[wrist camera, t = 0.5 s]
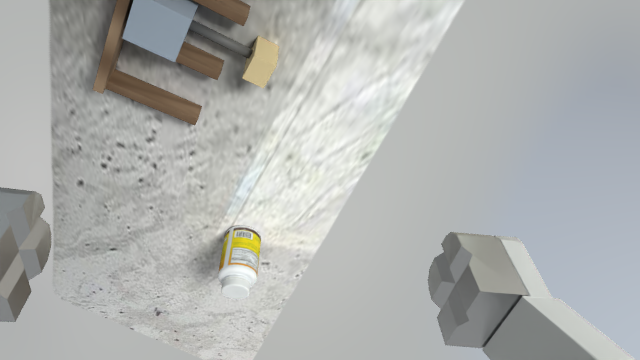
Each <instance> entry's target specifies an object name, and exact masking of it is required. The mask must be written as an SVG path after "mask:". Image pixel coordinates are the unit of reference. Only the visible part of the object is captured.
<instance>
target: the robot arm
mask: <svg viewBox="0 0 640 360" xmlns="http://www.w3.org/2000/svg"><path fill="white" fill-rule="evenodd" d="M44 208H45V206H44V203H43V199H42V196H41V194H39V193H37V192H34V191H26V190H16V189H9V188H0V321H4V322H5V321H6V322H15V321H16V319H17V318H18V316H19V314H20V312H21V310H22V308H23V306H24V305H25V303H26V301H27V299H28V297H29V295H30V293H31V288H30V285H29V282H28V280H30V279H32V278H33V277H35V276H36V275H38V274H39V273H41V272H42V270H43V268H44V266H45V264H46V262H47V260H48V256H49V252H50V248H51V231H50V227H49V224H48V223H46V221H44V220H43V219H42V218H41V217H40V215H41V213H42V212H43V210H44ZM442 247H443V250H444V253H442V254H440V255H439V256H437V257H435V258H434V260H433V262H432V265H431V267H430V269H429V277H428V285H429V291H430V295H431V299H432V301H433V302H434V303H435V304H436V305H437V306H438V307H440V308H441V311H440V313H439V315H438V317H437V319H438V322H439V326H440V329H441V332H442V335H443V339H444V342H445V345H450V346H462V347H475V348H483V351H484V353H485V354H486V355H487V356H488V357H489V359H490V360H635V359H634V358H633V357H632V356H631V355H629V354H628V353H627V352H626V351H624V350H623V349H622V348H620V347H619V346H618V345H617V344H615V343H614V342H613V341H612V340H611V339H609V338H608V337H607V336H605V335H604V334H603V333H602V332H600V331H599V330H598V329H597V328H595V327H594V326H593V325H592V324H590V323H589V322H588V321H587V320H585V319H584V318H583V317H582V316H580V315H579V314H578V313H577V312H575V311H574V310H573V309H572V308H570V307H569V306H568V305H567V304H565V303H564V302H563V301H562V300H560V299H556V298H552V296H551V294H550V292H549V291H548V289H547V287H546V285H545V283H544V281H543V280H542V278H541V276H540V274H539V272H538V271H537V269H536V267H535V265H534V263H533V261H532V260H531V258H530V256H529V255H528V252H527V251H526V249H525V247H524V245H523V243H522V242H521V241H520V240H519V239H518V238H516V237H504V236H490V235H479V234H467V233H456V232H450V233H449V234H448V235H447V236H446V237H445V239H444V241H443V242H442Z"/></svg>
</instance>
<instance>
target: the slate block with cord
mask: <svg viewBox="0 0 640 360" xmlns="http://www.w3.org/2000/svg"><path fill="white" fill-rule="evenodd" d="M198 5H199V3H197V2H195V1H193V0H133V4H132V7H131V10H130V14H129V17H128V21H127V24H126V27H125V31H124V34H123V37H122V39H124V40H127V41H129V42H131V43H133V44H135V45H137V46H140V47H142V48H144V49H146V50H148V51H151V52H153V53H155V54H157V55H159V56H162V57H164V58H166V59H168V60H170V61H172V62H175V61H176V58H177V56H178V54H179V51H180V49H181V47H182V44H183V42H184V40H185V37H186V35H187V32H188V30H191V31H193V32H195V33H197V34H199V35H201V36H203V37H205V38H207V39H209V40H212V41H214V42H216V43H218V44H220V45H222V46H224V47H226V48H228V49H230V50H232V51H234V52H236V53H238V54H240V55H242V56H244V57H246V58H247V59H246V63H245V68H244V72H243V77H242V78H243V79H245V80H247V81H249V82H251V83H253V84H255V85H257V86H260V87H262V88H264V87H265V85H266V83H267V82H268V80H269V78H270V76H271V75H272V73H273V71H274V69H275V68H276V65H277V57H278V50H279V46H277V45H275V44H274V43H272V42H270V41H268V40H266V39H264V38H262V37H260V36H258V37H257V39H256V41H255V43H254V45H253V47H252V49H250V48H248V47H246V46H244V45H242V44H240V43H238V42H236V41H234V40H232V39H230V38H228V37H226V36H224V35H222V34H220V33H218V32H216V31H214V30H212V29H210V28H208V27H206V26H204V25H202V24H200V23H198V22H196V21H194V20H193V17H194V15H195V13H196V10H197V8H198Z"/></svg>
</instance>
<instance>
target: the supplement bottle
mask: <svg viewBox="0 0 640 360" xmlns="http://www.w3.org/2000/svg"><path fill="white" fill-rule="evenodd" d="M260 243H261V236H260V234H259V232H258V231H257V230H255V229H254V228H252V227H249V226H244V225H239V226H234V227H232V228H230V229H229V230H228V231H227V232H226V234H225V238H224V244H223V250H222V255H221V261H220V267H219V272H218V279H219V281H220V282H221V284H222V289H221V292H222V294H223V295H224V296H225V297H227V298H230V299H234V300H240V299H244V298H246V297H248V296H249V293H250V289H251V286H253V285H254V284H255V282H256V280H257V272H258V263H259V253H260Z"/></svg>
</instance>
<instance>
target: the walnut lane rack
mask: <svg viewBox="0 0 640 360" xmlns="http://www.w3.org/2000/svg"><path fill="white" fill-rule="evenodd" d="M193 1H195V2H197V3H199V4H201V5H203V6H205V7H207V8H209V9H211V10H213V11H215V12H217V13H219V14H220V15H222V16H224V17H226V18H228V19H230V20H232V21H234V22H236V23H238V24H240V25H242V26H244V24H245V22H246V20H247V18H248V14H249V10H250V6H249V5H247V4H245V3H243V2H242V1H240V0H193ZM132 4H133V0H117V2H116V6H115V10H114V13H113V17H112V21H111V24H110V28H109V32H108V35H107V39H106V43H105V46H104V50H103V54H102V57H101V61H100V65H99V68H98V72H97V76H96V79H95V83H94V87H93V90H94V91H97V92H99V93H102V94H103V92H104V90H105V89H108V90H110V91H113V92H115V93H118V94H120V95H122V96H125V97H127V98H130V99H132V100H135V101H137V102H139V103H142V104H144V105H147V106H149V107H152V108H154V109H156V110H159V111H161V112H164V113H166V114H168V115H171V116H173V117H176V118H178V119H181V120H183V121H185V122H188V123H190V124H193V125H195V124H196V122H197V120H198V117H199V114H200V111H201V107H202V106H200V105H197V104H195V103H193V102H190V101H188V100H186V99H183V98H181V97H179V96H177V95H174V94H172V93H170V92H167V91H165V90H163V89H160V88H158V87H156V86H153V85H151V84H149V83H146V82H144V81H142V80H139V79H137V78H135V77H132V76H130V75H128V74H125V73H123V72H121V71H118V70H116V69H115V67H116V64H117V61H118V57H119V54H120V51H121V48H122V44H123V41H124V39H122V37H123V34H124V31H125V27H126V24H127V21H128V17H129V14H130V10H131V7H132ZM176 62H178V63H181V64H183V65H185V66H187V67H189V68H191V69H194V70H196V71H198V72H200V73H202V74H205V75H207V76H209V77H211V78H213V79H216V80H217V79H218V77H219V75H220V73H221V70H222V66H223V63H224V60H222V59H220V58H218V57H215V56H213V55H211V54H209V53H207V52H205V51H203V50H201V49H199V48H197V47H194V46H192V45H190V44H188V43H186V42H183V44H182V47H181V49H180V51H179V54H178V56H177V58H176Z"/></svg>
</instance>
